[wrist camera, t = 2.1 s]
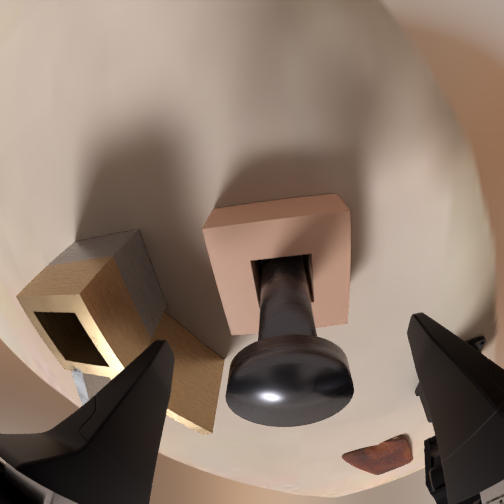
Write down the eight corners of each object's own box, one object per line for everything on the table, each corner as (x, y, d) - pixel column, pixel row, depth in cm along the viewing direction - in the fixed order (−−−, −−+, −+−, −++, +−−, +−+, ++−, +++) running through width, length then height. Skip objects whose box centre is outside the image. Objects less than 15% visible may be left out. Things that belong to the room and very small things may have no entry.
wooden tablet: (337, 451, 30) (338, 460, 28) (403, 428, 27) (405, 438, 25) (371, 474, 39) (372, 480, 38) (414, 459, 36) (415, 465, 35)
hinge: (179, 221, 14) (129, 290, 8) (225, 363, 19) (214, 435, 13) (52, 247, 15) (-3, 296, 10) (113, 359, 20) (87, 413, 15)
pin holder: (336, 193, 12) (350, 210, 10) (338, 294, 15) (347, 323, 13) (213, 208, 13) (202, 229, 11) (236, 305, 16) (231, 335, 14)
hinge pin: (314, 219, 13) (361, 354, 6) (317, 279, 15) (346, 419, 7) (241, 228, 14) (210, 368, 6) (253, 286, 15) (239, 428, 8)
